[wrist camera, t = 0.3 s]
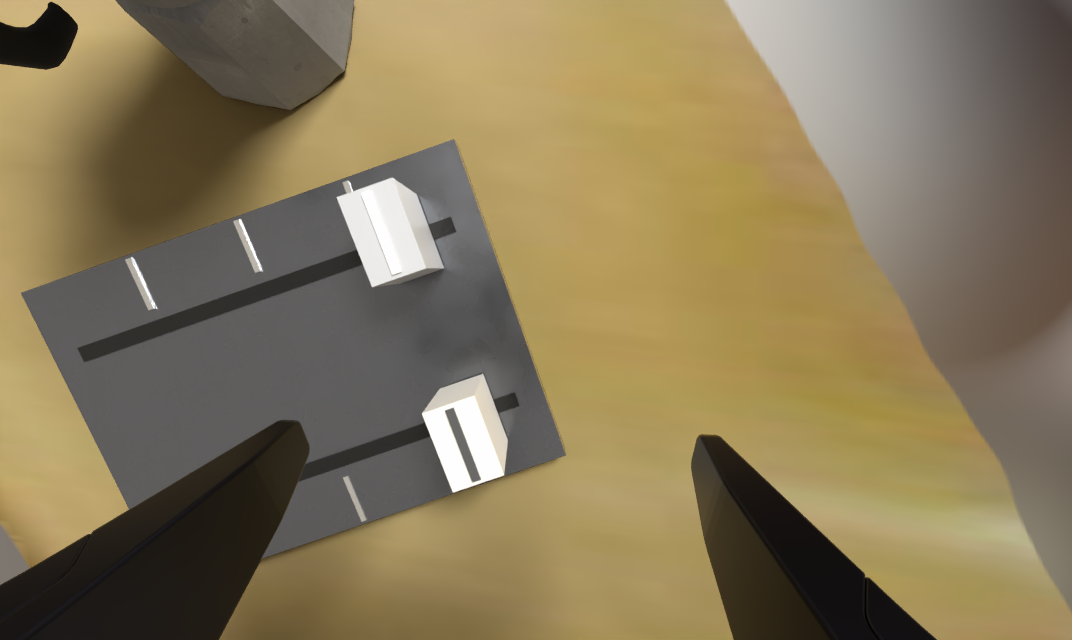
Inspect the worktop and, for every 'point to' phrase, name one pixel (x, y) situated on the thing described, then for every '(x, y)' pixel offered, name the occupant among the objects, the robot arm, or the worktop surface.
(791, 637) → the robot arm
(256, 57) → the coffeepot
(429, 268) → the block white
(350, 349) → the panel
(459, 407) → the block
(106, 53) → the worktop surface
